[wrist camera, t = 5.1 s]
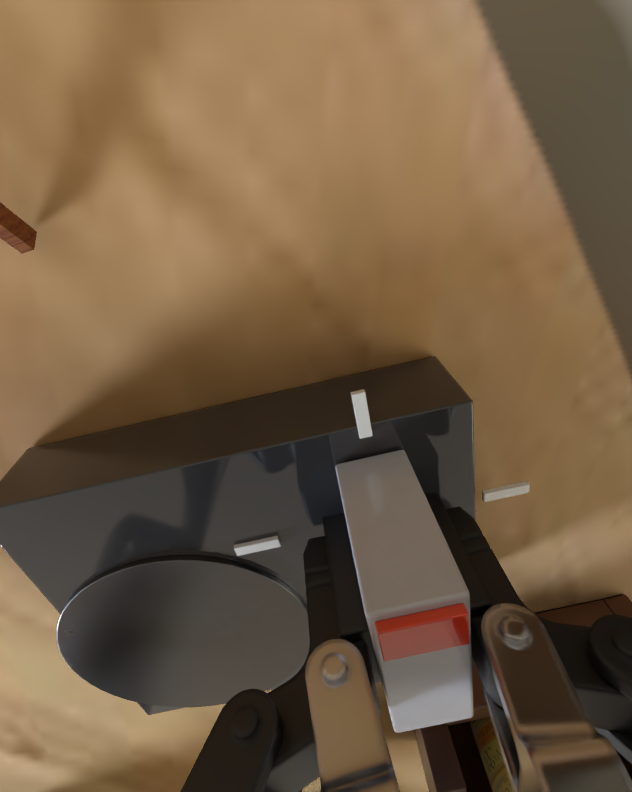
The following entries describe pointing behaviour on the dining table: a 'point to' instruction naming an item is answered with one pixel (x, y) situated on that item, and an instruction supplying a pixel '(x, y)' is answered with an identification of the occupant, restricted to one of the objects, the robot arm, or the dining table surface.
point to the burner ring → (184, 631)
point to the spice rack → (456, 747)
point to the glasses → (16, 231)
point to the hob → (232, 478)
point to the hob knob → (408, 593)
